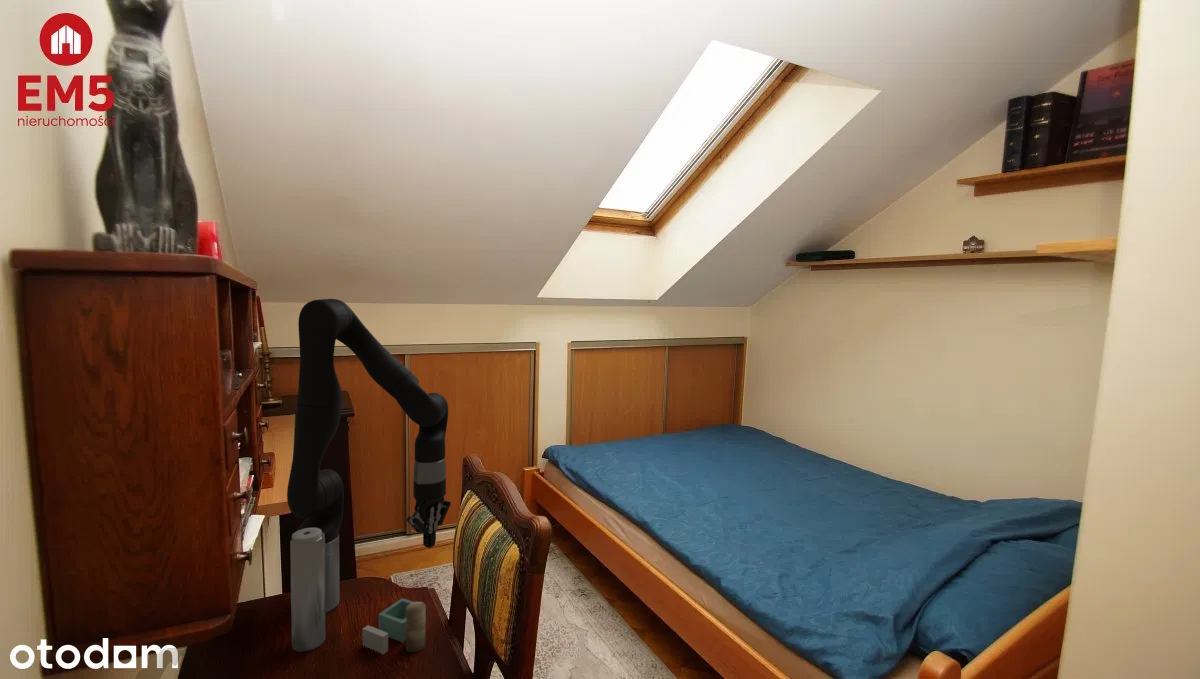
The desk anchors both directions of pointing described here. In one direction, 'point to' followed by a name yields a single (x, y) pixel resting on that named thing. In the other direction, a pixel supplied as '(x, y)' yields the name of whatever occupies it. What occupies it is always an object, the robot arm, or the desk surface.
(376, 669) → the desk surface
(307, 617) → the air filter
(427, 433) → the robot arm
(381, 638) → the grey flat slab
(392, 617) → the grey-green open box
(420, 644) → the dowel
